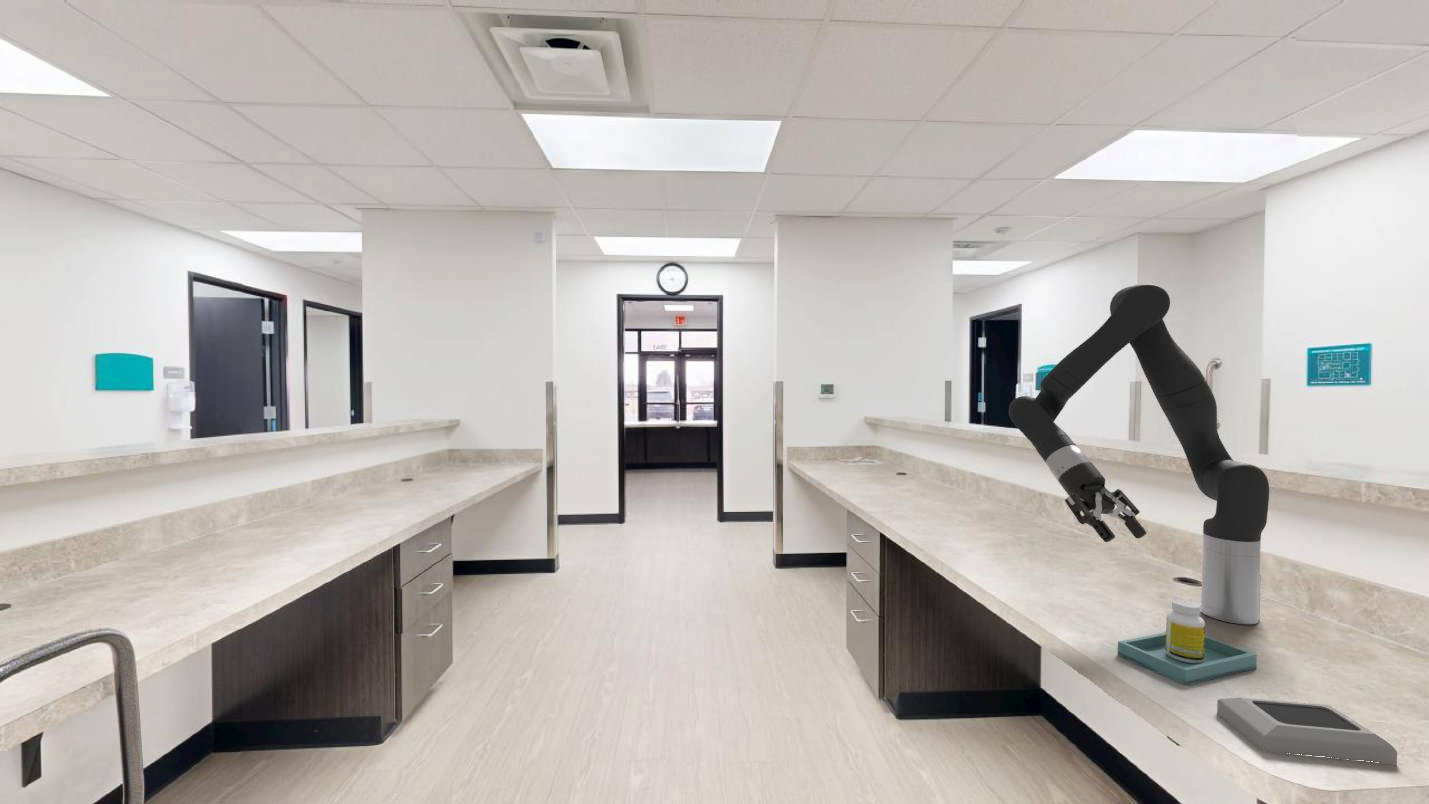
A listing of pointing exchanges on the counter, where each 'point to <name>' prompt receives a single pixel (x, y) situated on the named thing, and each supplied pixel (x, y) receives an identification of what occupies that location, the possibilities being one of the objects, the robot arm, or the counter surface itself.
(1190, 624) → the supplement bottle
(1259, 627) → the counter surface
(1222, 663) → the tray
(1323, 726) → the gray beveled slab
